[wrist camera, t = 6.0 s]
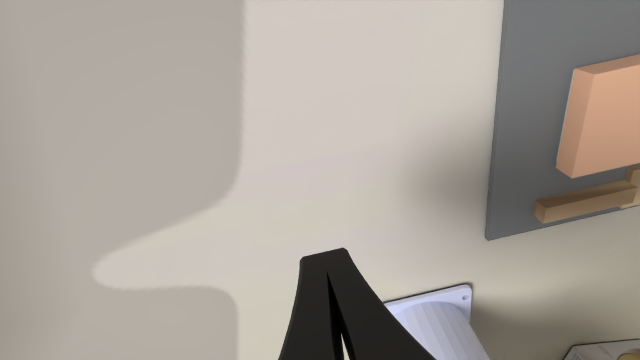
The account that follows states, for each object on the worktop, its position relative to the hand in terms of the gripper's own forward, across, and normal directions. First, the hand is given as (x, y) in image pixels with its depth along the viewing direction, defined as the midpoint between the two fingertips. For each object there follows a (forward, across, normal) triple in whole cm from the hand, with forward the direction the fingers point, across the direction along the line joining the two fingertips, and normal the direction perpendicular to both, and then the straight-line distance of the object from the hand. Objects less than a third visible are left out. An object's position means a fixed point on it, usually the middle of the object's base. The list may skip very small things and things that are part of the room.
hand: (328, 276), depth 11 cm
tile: (+9, -15, +2) cm, 17 cm away
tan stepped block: (+10, -19, +8) cm, 23 cm away
